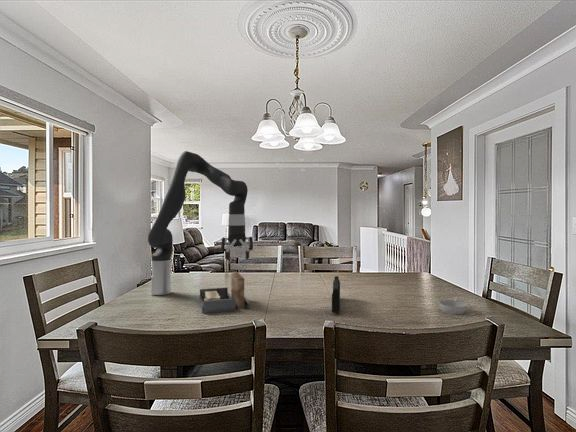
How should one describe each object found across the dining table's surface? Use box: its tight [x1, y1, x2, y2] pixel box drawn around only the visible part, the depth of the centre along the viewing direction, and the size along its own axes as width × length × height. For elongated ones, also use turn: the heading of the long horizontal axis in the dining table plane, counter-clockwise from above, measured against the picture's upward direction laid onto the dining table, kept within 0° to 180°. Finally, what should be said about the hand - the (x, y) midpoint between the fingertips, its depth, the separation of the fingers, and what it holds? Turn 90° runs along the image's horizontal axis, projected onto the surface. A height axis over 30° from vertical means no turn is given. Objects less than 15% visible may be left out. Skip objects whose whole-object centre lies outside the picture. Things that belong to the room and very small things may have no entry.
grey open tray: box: [198, 287, 251, 315], centre depth 164 cm, size 20×25×5 cm
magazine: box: [331, 275, 341, 314], centre depth 160 cm, size 17×3×30 cm
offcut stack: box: [203, 291, 220, 302], centre depth 163 cm, size 6×18×5 cm, turn 18°
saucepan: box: [438, 296, 468, 315], centre depth 155 cm, size 11×18×4 cm, turn 148°
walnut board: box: [230, 271, 245, 310], centre depth 166 cm, size 3×18×13 cm, turn 17°
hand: (237, 259), depth 166 cm, fingers open, 8 cm apart
